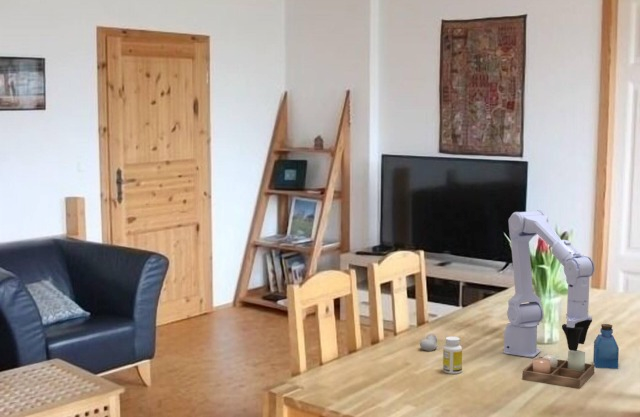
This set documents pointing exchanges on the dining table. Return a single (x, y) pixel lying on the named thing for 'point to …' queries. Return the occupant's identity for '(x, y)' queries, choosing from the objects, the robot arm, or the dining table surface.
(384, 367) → the dining table surface
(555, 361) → the egg
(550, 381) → the wooden compartment tray
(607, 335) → the perfume bottle
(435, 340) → the smooth white sculpture
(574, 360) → the sage green cylinder
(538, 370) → the pink rounded cylinder
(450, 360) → the supplement bottle
